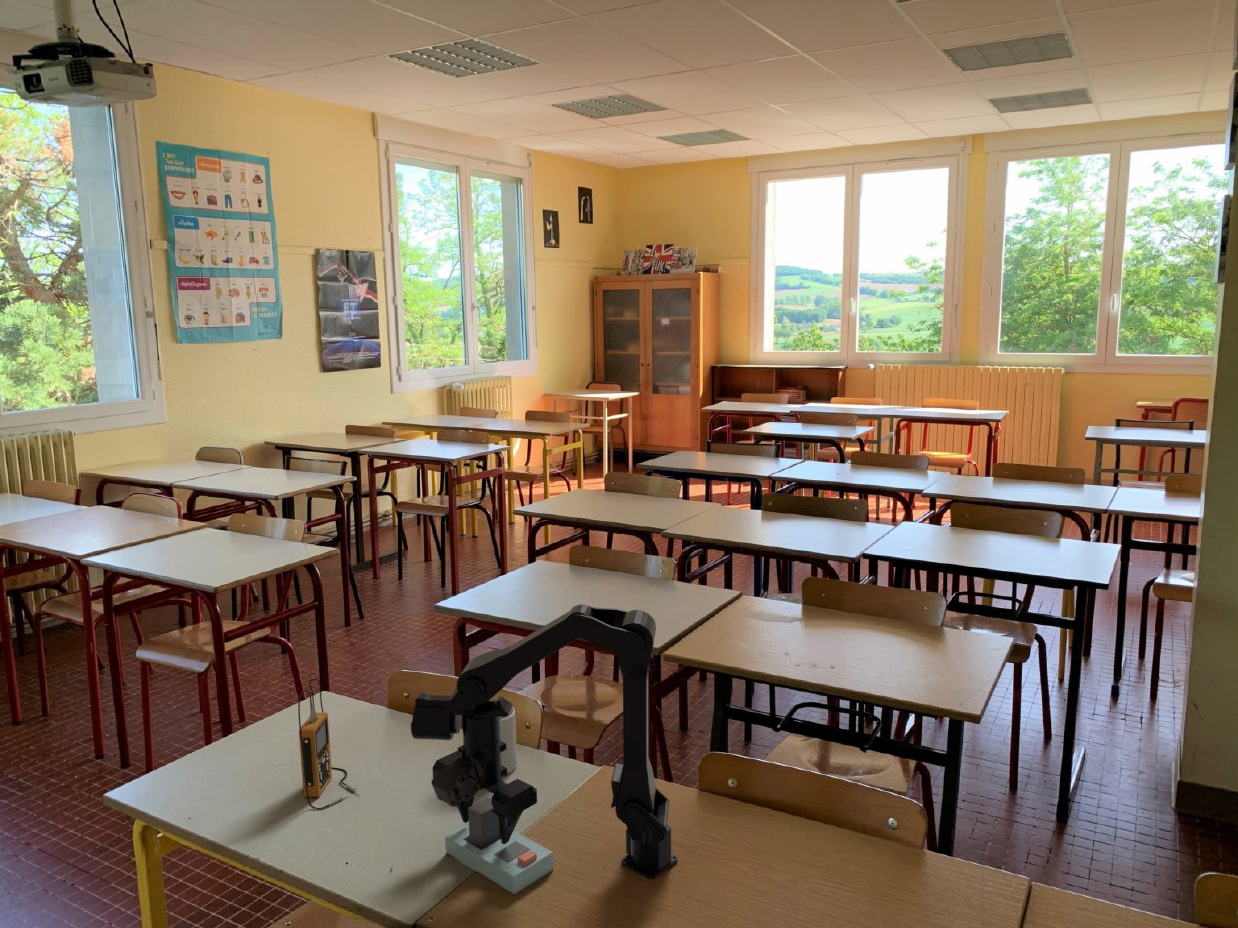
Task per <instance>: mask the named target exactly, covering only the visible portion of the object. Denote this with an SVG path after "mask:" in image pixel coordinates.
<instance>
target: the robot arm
mask: <svg viewBox="0 0 1238 928" xmlns="http://www.w3.org/2000/svg"><path fill="white" fill-rule="evenodd" d="M656 632H657V624H656V621H655V619H654V618H653V616H652V615H651V614H650V613H648V612H646V611H644V610H642V609H641V610H639V609H634V610H633V609H632V610H630V611H626V610H625V609H624V610H623V609H619V608H614V607H613V608H612V607H611V608H609V607H595V606H590V605H587V604H577V605H575V606H572V608H571V609H570V610H569V611H567V612H565V613H564V614H562V615H560V616H559V617H557V618H555V619H554V620H552V621H550V622H549V623H547V624H545V625H543V626H541V627H540V628H538V629H537V630H535V631H534V632H532V633H530V634H529V635H527V636H525V637H523V638H522V639H520V640H518V641H516V642H514V643H513V644H512V645H509V646H507V647H504V648H500V649H492V650H491V651H488V652H485V653H482V654H479V655H477V656H475V657H473V658H472V659H471V660H469V661H468V663H467V664H466V665H465V667H464V669H463V671H462V672H461V674H460V675H459V676H458V678H457V680H456V687H455V689H454V690H453V692H452V693H451V695H441V694H440V695H436V694H434V695H433V694H428V693H419V694H418V695H417V696H416V698H415V699H414V704H415V705H414V709H413V713H412V720H411V722H410V731H411V732H410V733H411V736H412V738H413V739H415V740H435V741H436V740H437V741H438V740H443V741H451V740H452V739H453V737H454V735H455V734H459V733H460V731H461V727H462V744H461V745H460V746H458V747H457V750H455V751H453V752H452V753H449V754H447V755H445V756H442V757H440V758H439V759H436V761H435V762H434V764H433V766H432V770H431V771H432V779H431V780H430V781H431V783H430V784H431V786H432V789H433V790H434V793H435V795H436V797H437V799H438V800H439V801H442V802H444V803H445V804H448V806H449V807H457V810H458V812H459V814H460V818H461V819H462V822H463V823H464V824H466V823H467V824H468V823H469V813H468V808H469V807H471V806H473V805H474V800H475V796H476V794H477V793H478V792H479V791H481V790H483V789H484V790H486V791H488V792H489V793H492V796H491V798H490V799H491V802H492V806H493V808H494V810H492V811H491V812H492V813H494V814H495V815H497V816H498V820H499V829H500V838H501V842H502V844H503V845H504V844H506V843H508V842H509V839H510V837H511V835H512V833H513V831H515V828H516V826H517V824H518V823H519V820H520V817H521V816H522V814H523V813H524V811H525V810H527V809H529V808H531V807H533V806H534V805H536V804H537V803H538V790H537V788H535V786H533V785H531V784H529V783H527V782H525V781H523V780H521V779H519V778H516V779H514V780H512V781H510V782H509V783H507V782H505V781H503V780H502V778H503V777H504V776H507V775H508V774H507V768H506V767H504V766H502V765H501V752H502V751H504V750H507V749H506V743H504V742H502V741H500V717H507V716H508V714H509V712H510V710H511V708H512V707H513V703H512V702H510V701H509V700H507V699H506V698H504V696H503V695H499V696H498V697H497V698H495V699H492V698H493V697H494V696H496V695H498V693H499V692H500V691H502V690H503V689H504V688H505V687H506V685H507V684H509V683H510V682H511V681H512V680H513V679H514V677H516V676H517V675H518V674H520V673H522V672H523V671H525V670H527V669H529V668H530V667H532V666H533V665H536V664H537V663H539V662H541V661H542V660H544V659H546V658H547V657H549V656H551V655H552V654H555V653H556V652H558V651H559V650H561V649H563V648H565V647H566V646H568V645H570V644H572V643H573V642H575V641H577V640H583V641H587V642H589V643H591V644H593V645H595V646H597V647H599V648H601V649H603V650H605V651H609V652H613V653H615V654H616V659H617V660H616V661H617V666H618V668H619V670H620V673H621V677H622V737H623V738H622V747H623V748H622V749H623V751H622V753H623V754H622V756H623V763H622V764H621V763H619V762H618V763H617V762H616V763H614V769H613V772H612V777H611V782H610V784H611V785H610V786H611V791H612V799H611V804H610V808H611V809H612V808H615V810H614V811H615V815H616V818H617V819H618V820H620V821H621V823H623V824H625V827H626V829H625V853H626V854H627V855H626V856H624V857H622V858H621V859H620V863H621V864H622V865H623V866H626V867H627V868H629V869H631V870H633V871H635V872H636V873H639V874H641V875H643V876H645V877H647V878H648V879H651V880H653V879H656V878H657V877H658V876H659V875H661V874H662V873H663V872H664V871H666V870H667V869H668V868H670V867H671V866H673V865H674V864H675V863H677V862H678V859H679V857H678V856H677V855H675V854H673V853H672V828H671V827H670V826H669V824H668V819H669V809H670V799H669V798H668V797H667V796H665V795H664V794H663V793H662V792H661V791H660V790H659V789H658V788H657V787H656V780H655V777H654V769H653V767H652V763H651V760H650V757H649V670H650V666H651V665H650V664H651V659H652V655H653V649H654V643H655V638H656ZM506 774H507V775H506Z"/></svg>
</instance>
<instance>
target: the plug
mask: <svg viewBox="0 0 1238 928" xmlns="http://www.w3.org/2000/svg"><path fill="white" fill-rule="evenodd" d="M492 810H494V808H493V806H492V802H491V798H490V797H486V798H483V800H480V801H478V802H477V803H475V804H473V806H471V807H469V808H468V813H469V821H468V824H469V837H470V844H472V845H473V846H475V847H477V848H479V849H480V850H482V849H484V848H486V847H488V846H489V845H491V844H493V843H494V842H496V841H498V840H500V839H501V838H500V829H499V820H498V816H497V815H495V814H494V813H492V812H491V811H492Z"/></svg>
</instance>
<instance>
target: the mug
mask: <svg viewBox="0 0 1238 928" xmlns="http://www.w3.org/2000/svg"><path fill="white" fill-rule="evenodd" d="M516 732H517V731H516V711H515V708H514V707H513V706H512V708H511V710H510V712H509V714H508V716H507V717H500V741H502V742H504V743H506V749H507V750H504V751H502V752H501V765H502V766H504V767H506V768H507V774H506V775H505V776H507V775H509V774H511V773H513V772H514V771H515V769H516V768H517V765H518V757H517V737H516V736H517V733H516Z"/></svg>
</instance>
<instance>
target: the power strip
mask: <svg viewBox="0 0 1238 928" xmlns="http://www.w3.org/2000/svg"><path fill="white" fill-rule="evenodd" d="M444 838H445V840H444V841H445V854H446V855H448V856H449V857H450V858H452V859H454V860H456V861H457V862H460V863H461V864H462V865H463V866H466V867H467V868H469V869H470V870H472V871H474V872H475V873H477V874H479V875H480V876H482V877H484V878H485V879H486V880H489V881H491V882H492V883H493V884H495V885H497V886H498V887H500V888H502V889H503V890H505V891H506V892H508V893H510V894H511V895H513V896H515V895H517V894H519V893H521V892H522V891H523V890H525V889H526V888H528V887H529V886H531V885H532V884H534V883H536V882H537V881H539V880H541V879H542V878H543V877H545V876H546V875H548V874H549V873H551V872H552V871H554V851H552V850H549V849H548V848H546V847H544V846H542V845H540V844H539V843H537V842H535V841H533V840H531V839H529V838H528V837H527V836H524V835H522V834H520V833H519V832H517V831H515V830H514V831H513V833H512V835H511V837H510V839H509V842H508V843H506V844H504V845H503V844H502V842H501V839H500V840H498V841H496V842H494V843H493V844H491V845H489V846H488V847H486V848H484V849H482V850H480V849H479V848H477V847H475V846H473V845H472V844H470V837H469V823H467V824H465V825H463V826H461V827H459V828H458V829H456V830H454V831H452V832H450V833H448V834H447V835H445V836H444Z"/></svg>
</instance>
